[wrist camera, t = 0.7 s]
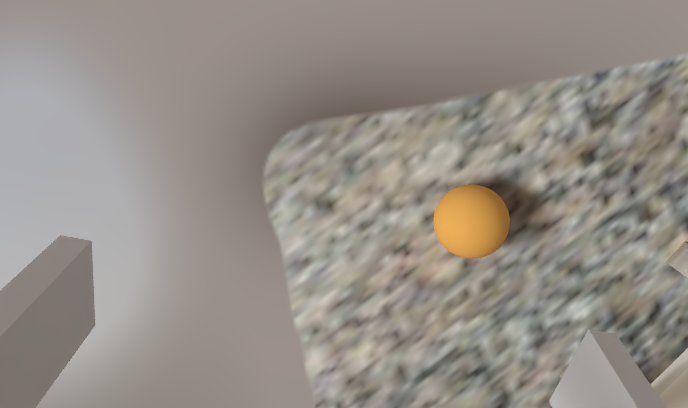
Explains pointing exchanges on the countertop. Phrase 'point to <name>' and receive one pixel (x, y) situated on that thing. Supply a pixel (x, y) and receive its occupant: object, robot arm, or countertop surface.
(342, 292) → the countertop surface
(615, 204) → the countertop surface
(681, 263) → the bridge
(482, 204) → the ball
